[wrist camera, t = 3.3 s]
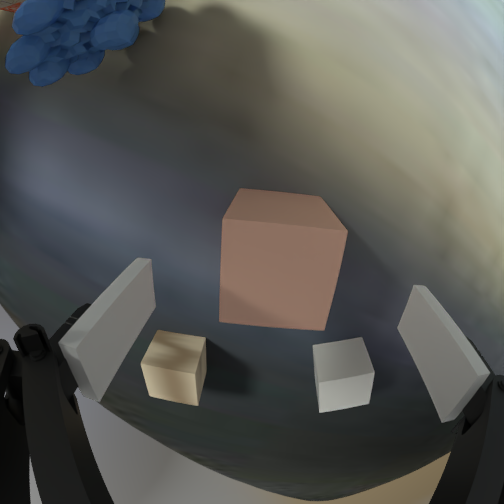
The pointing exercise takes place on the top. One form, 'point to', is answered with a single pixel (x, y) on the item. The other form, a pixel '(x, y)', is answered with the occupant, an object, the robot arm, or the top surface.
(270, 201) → the terracotta block
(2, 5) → the stack of blocks
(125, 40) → the grapes
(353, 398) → the off-white plastic block
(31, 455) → the robot arm
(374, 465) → the top surface
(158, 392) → the maple block
